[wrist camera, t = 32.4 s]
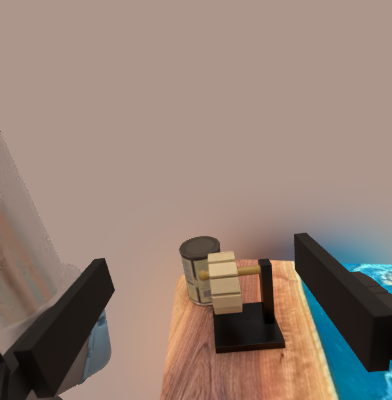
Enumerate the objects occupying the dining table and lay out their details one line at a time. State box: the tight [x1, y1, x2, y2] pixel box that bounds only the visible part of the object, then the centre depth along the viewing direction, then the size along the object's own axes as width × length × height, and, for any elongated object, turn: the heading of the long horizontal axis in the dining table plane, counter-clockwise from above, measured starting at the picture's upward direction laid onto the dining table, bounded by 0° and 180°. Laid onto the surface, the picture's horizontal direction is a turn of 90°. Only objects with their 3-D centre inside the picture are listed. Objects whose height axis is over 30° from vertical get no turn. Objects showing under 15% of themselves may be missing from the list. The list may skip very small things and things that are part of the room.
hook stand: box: [198, 259, 285, 353], centre depth 42 cm, size 14×10×16 cm
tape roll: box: [208, 251, 242, 314], centre depth 41 cm, size 5×11×11 cm, turn 178°
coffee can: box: [179, 236, 220, 306], centre depth 54 cm, size 10×10×14 cm
